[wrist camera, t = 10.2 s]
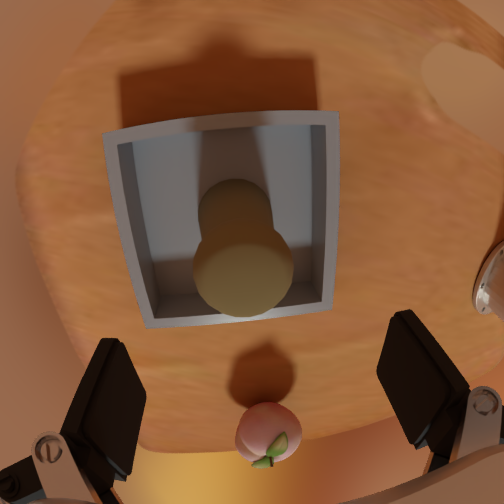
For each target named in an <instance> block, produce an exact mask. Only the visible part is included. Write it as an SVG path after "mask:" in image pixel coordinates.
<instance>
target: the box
mask: <svg viewBox="0 0 504 504" xmlns="http://www.w3.org/2000/svg"><path fill="white" fill-rule="evenodd" d="M102 135H103V144H104V152H105V159H106V166H107V172H108V179H109V185H110V190H111V196H112V201H113V206H114V211H115V216H116V221H117V226H118V230H119V234H120V239H121V243H122V247H123V251H124V255H125V259H126V263H127V267H128V270H129V274H130V278H131V281H132V285H133V288H134V292H135V295H136V298H137V302H138V305H139V308H140V311H141V314H142V317H143V320H144V323H145V326H146V329H149V328H168V327H184V326H197V325H210V324H221V323H232V322H241V321H251V320H260V319H268V318H276V317H284V316H292V315H299V314H306V313H313V312H320V311H326V310H332V304H333V294H334V283H335V271H336V258H337V242H338V223H339V193H340V136H339V111H316V110H280V111H254V112H238V113H225V114H214V115H205V116H196V117H188V118H181V119H174V120H168V121H161V122H155V123H150V124H144V125H139V126H134V127H129V128H124V129H120V130H115V131H111V132H107V133H102ZM228 179H245V180H247V181H250V182H252V183H255V184H256V185H257V186H259V187H260V188H261V189H262V190H263V191H264V192H265V194H266V195H267V197H268V198H269V200H270V204H271V208H272V214H273V223H274V229H275V230H276V231H277V232H278V233H279V234H281V236H282V237H283V239H284V240H285V242H286V244H287V245H288V247H289V249H290V250H291V254H292V259H293V264H294V271H293V277H292V283H291V286H290V287H289V289H288V291H287V293H286V295H285V296H284V298H283V299H282V300H281V301H280V302H279V303H278V304H277V305H276V306H275V307H274V308H272V309H270V310H268V311H267V312H265V313H263V314H260V315H256V316H252V317H233V316H229V315H226V314H223V313H221V312H219V311H218V310H216V309H214V308H213V307H211V306H210V305H208V304H207V302H206V301H205V300H204V299H203V298H202V297H201V296H200V294H199V292H198V289H197V286H196V284H195V281H194V278H193V259H194V256H195V253H196V250H197V247H198V245H199V243H200V242H201V240H202V239H201V233H200V228H199V222H198V208H199V205H200V202H201V199H202V197H203V196H204V195H205V193H206V192H207V191H208V190H209V188H211V187H212V186H214V185H215V184H217V183H218V182H220V181H224V180H228Z"/></svg>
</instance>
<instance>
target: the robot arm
mask: <svg viewBox="0 0 504 504" xmlns="http://www.w3.org/2000/svg"><path fill="white" fill-rule="evenodd" d="M473 304H474V307H475V309H476V310H477V311H478V312H479V313H481V314H489V313H491V312H494V313H495V314H496V315H497V316H498V317H499V318H500V319H501V320H502V321H503V322H504V241H502V242H501V243H500V244H499V245H498V246H497V247H496V248H495V249H494V250H493V251H492V252H491V254H490V255H489V256H488V258H487V260H486V261H485V263H484V265H483V267H482V269H481V271H480V273H479V275H478V278H477V281H476V284H475V288H474V293H473ZM377 376H378V379H379V381H380V383H381V385H382V387H383V389H384V391H385V393H386V395H387V397H388V399H389V401H390V403H391V405H392V407H393V409H394V411H395V413H396V416H397V418H398V420H399V422H400V424H401V426H402V428H403V431H404V433H405V435H406V437H407V439H408V441H409V443H410V444H414V446H415V449H416V450H417V449H420V448H422V447H425V446H427V445H428V446H429V448H430V450H431V451H430V454H429V458H428V460H427V463H426V466H425V469H424V472H423V475H422V476H420V477H418V478H415V479H413V480H411V481H408V482H406V483H403V484H400V485H398V486H395V487H393V488H390V489H387V490H384V491H381V492H378V493H375V494H372V495H368V496H365V497H362V498H358V499H355V500H351V501H348V502H343V503H339V504H504V406H503V405H502V400H501V398H500V396H499V394H498V393H497V392H496V391H495V390H494V389H492V388H490V387H487V386H479V387H476V388H474V389H473V390H472V391H471V390H470V389H469V387H470V386H469V384H468V383H467V381H466V380H465V379H464V377H463V376H462V374H461V373H460V372H459V370H458V369H457V367H456V366H455V365H454V363H453V362H452V361H451V359H450V358H449V357H448V355H447V354H446V353H445V351H444V350H443V349H442V347H441V346H440V345H439V343H438V342H437V341H436V340H435V338H434V337H433V336H432V334H431V333H430V332H429V331H428V329H427V328H426V327H425V326H424V324H423V323H422V322H421V321H420V319H419V318H418V317H417V316H416V314H415V313H414V312H413V311H412V310H410V309H409V310H404V311H399V312H396V313H395V314H394V317H391V319H390V322H389V326H388V330H387V334H386V338H385V342H384V345H383V349H382V352H381V356H380V359H379V362H378V365H377ZM145 403H146V391H145V389H144V387H143V385H142V383H141V381H140V379H139V377H138V374H137V372H136V370H135V368H134V366H133V363H132V361H131V359H130V357H129V354H128V352H127V350H126V347H125V345H124V343H122V342H120V341H119V340H118V339H117V338H102V339H101V340H100V342H99V344H98V346H97V348H96V350H95V352H94V354H93V356H92V358H91V361H90V363H89V365H88V367H87V369H86V372H85V374H84V376H83V377H82V380H81V382H80V384H79V386H78V389H77V391H76V393H75V396H74V398H73V401H72V403H71V405H70V408H69V410H68V413H67V415H66V418H65V420H64V423H63V426H62V428H61V431H60V433H56V432H50V431H49V432H45V433H42V434H41V435H39V436H38V437H37V438H36V439H35V440H34V442H33V444H32V449H31V453H32V455H31V456H29V457H27V458H25V459H23V460H21V461H19V462H17V463H15V464H13V465H11V466H9V467H7V468H5V469H3V470H1V471H0V504H124V503H123V502H122V501H121V499H120V497H119V496H118V494H117V493H116V491H115V490H114V488H113V483H114V480H120V481H125V482H126V478H127V475H130V474H131V472H132V466H133V461H134V456H135V450H136V445H137V440H138V435H139V431H140V426H141V421H142V416H143V412H144V407H145Z"/></svg>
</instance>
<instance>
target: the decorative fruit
mask: <svg viewBox="0 0 504 504" xmlns="http://www.w3.org/2000/svg"><path fill="white" fill-rule="evenodd" d="M301 438H302V428H301V425H300V422H299V420H298V419H297V417H296V416H295V415H294V414H293V413H292V412H291V411H290V410H288V409H287V408H285V407H284V406H282V405H280V404H277V403H273V402H263V403H259V404H256V405H254V406H252V407H250V408H249V409H248V410H247V411H246V412H245V413H244V414H243V416H242V417H241V419H240V423H239V425H238V428H237V431H236V436H235V446H236V449H237V450H238V452H239V453H240V454H241V455H242V456H243V457H244V458H245V459H247V460H249V461H251V462H254V463H253V464H252V466H253V467H255V468H267V467H269V466H271V467H273V464H274V462H277V461H281V460H283V459H285V458H287V457H289V456H290V455H291V454H292V453H293V452H294V451H295V450H296V449H297V447H298V445H299V443H300V441H301Z"/></svg>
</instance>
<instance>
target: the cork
mask: <svg viewBox="0 0 504 504" xmlns="http://www.w3.org/2000/svg"><path fill="white" fill-rule="evenodd" d="M198 222H199V228H200V233H201V239H202V240H201V242H200V243H199V245H198V247H197V250H196V253H195V256H194V259H193V278H194V281H195V284H196V286H197V289H198V292H199V294H200V296H201V297H202V298H203V299H204V300H205V301H206V302H207V304H208V305H210V306H211V307H213V308H214V309H216V310H218V311H219V312H221V313H223V314H226V315H229V316H233V317H252V316H256V315H260V314H263V313H265V312H267V311H268V310H270V309H272V308H274V307H275V306H276V305H277V304H278V303H279V302H280V301H281V300H282V299H283V298H284V296H285V295H286V293H287V291H288V289H289V287H290V286H291V283H292V277H293V271H294V264H293V259H292V254H291V250H290V249H289V247H288V245H287V244H286V242H285V240H284V239H283V237H282V236H281V234H279V233H278V232H277V231H276V230H275V229H274V223H273V214H272V208H271V204H270V200H269V198H268V197H267V195H266V194H265V192H264V191H263V190H262V189H261V188H260V187H259V186H257V185H256V184H255V183H252V182H250V181H247V180H245V179H228V180H224V181H220V182H218V183H217V184H215V185H214V186H212V187H211V188H209V190H208V191H207V192H206V193H205V195H204V196H203V197H202V199H201V202H200V205H199V208H198Z"/></svg>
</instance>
